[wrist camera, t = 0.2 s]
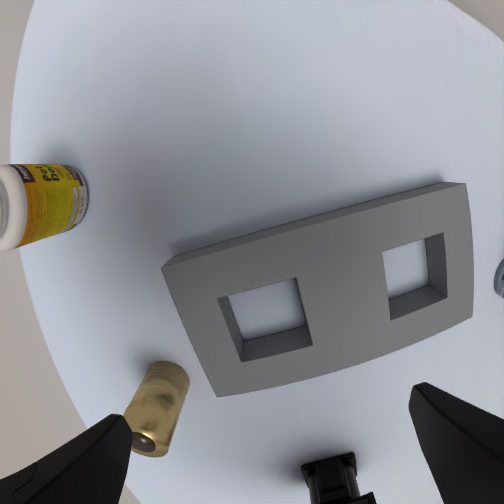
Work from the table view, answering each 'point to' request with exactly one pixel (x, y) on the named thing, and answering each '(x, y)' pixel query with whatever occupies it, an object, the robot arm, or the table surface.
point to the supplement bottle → (38, 202)
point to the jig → (328, 288)
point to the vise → (499, 280)
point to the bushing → (157, 408)
